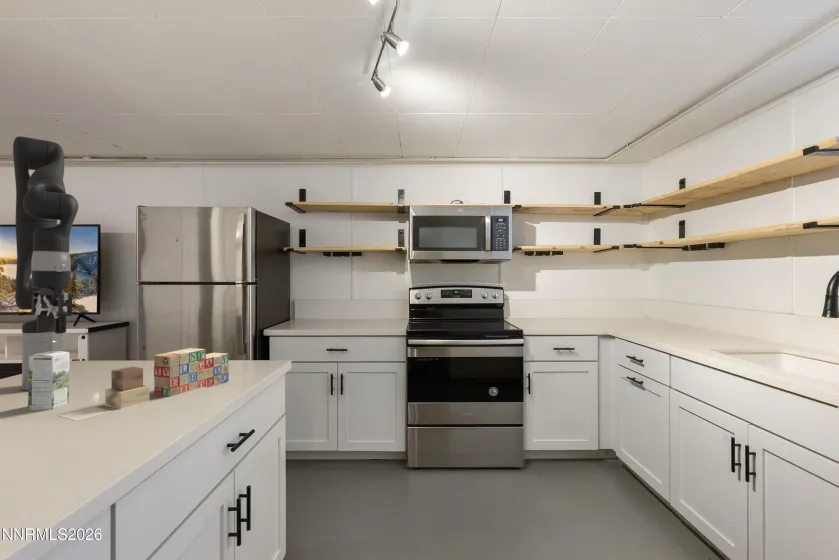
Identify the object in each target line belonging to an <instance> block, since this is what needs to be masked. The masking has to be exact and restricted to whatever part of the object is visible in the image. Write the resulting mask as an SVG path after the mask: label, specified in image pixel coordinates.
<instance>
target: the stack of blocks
mask: <svg viewBox="0 0 839 560" xmlns="http://www.w3.org/2000/svg"><path fill="white" fill-rule="evenodd" d="M206 350H207V349H206V348H197V347H195V348H194V347H189V348H188V347H187V348H185V349H184V348H183V349H179V350H178V349H177V350H174V351H168V352H163V353H159V354H154V356H153V357H154V358H153V359H154V361H153V363H154V366H153V379H154V382H153V383H154V384H153V385H154V388H153V389H154V390H153V391H154V392H153V393H154V395H155V396H156V395H157V396H161V397H173V396H176V395H181V394H184V393H187V392H190V391H194V390H197V389H201V388H210V387H209V386H211V387H213V386H212V385H215V386H217V385H216V384H218V385H221V384H223V382H224V383H227V382H226V381H228V382H229V379H230V377H229V374H230V373H229V370H230V368H229V367H230V366H229V365H230V363H229V353H225V352H223V353H222V352H221V353H220V352H210V353H206V352H207V351H206ZM220 383H221V384H220Z"/></svg>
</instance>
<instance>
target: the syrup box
mask: <svg viewBox="0 0 839 560" xmlns="http://www.w3.org/2000/svg"><path fill="white" fill-rule="evenodd" d="M70 356H71V355H70V352H69V351H64V350H63V351H50V352H45V353H40V354H36V355H31V356H29V384H28V390H27V391H28V393H27V394H28V397H27V398H28V399H27V411H48V410H49V411H50V410H54V409H57V408H60V407H62V406H65V405H68V404H69V401H70V400H69V399H70V397H69V395H70V393H69V392H70V359H71V358H70Z"/></svg>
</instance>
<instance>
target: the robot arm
mask: <svg viewBox="0 0 839 560" xmlns="http://www.w3.org/2000/svg"><path fill="white" fill-rule="evenodd" d="M12 157H13V167H14V179H15V180H14V181H15V194H16V196H15V238H16V239H15V240H16V271H15V272H16V274H15V275H16V276H15V289H14V293H15V294H14V295H15V296H14V297H15V298H14V299H15V304H16V307H17V309H19V310H21V311H22V310H23V311H24V310H27V311H28V310H29V311H30V310H31V311H30V312H31V314H32V315H34V317H36V319H32V320H29V321H25V322H24V323H22V325H21V359H22V361H21V389H22V391H28V384H29V356H31V355H36V354H40V353H45V352H50V351H64V350H63V349H64V347H63V346H64V345H63V343H64V341H63V335H64V334H65V333H66V332H67V319H68V318H69V317H71V316H73V298H72V297H73V295H72V292H64V291H65V290H64V289H66V288H67V289H68V288H70V287H71V273H72V272H71V271H72V270H71V268H72V267H71V256H70V237H71V236H70V235H71V231H72V227H73V224H74V222H75V219H76V216H77V214H78V211H79V203H78V200H77V198H75V195H74V196H73V195H72V194H70V193H66V186H65V183H64V176H65V153H64V149H63V147H62V146H61V144H60V143H57V142H54V141H52V140H45V139H38V138H34V137H28V136H16V137H15V138H14V140H13V144H12ZM30 170H31V171H33V172H32V173H31V175H30ZM58 220H59V223H58Z"/></svg>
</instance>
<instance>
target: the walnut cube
mask: <svg viewBox="0 0 839 560" xmlns="http://www.w3.org/2000/svg"><path fill="white" fill-rule="evenodd" d="M143 385H144V367H138V366H127V367H122V368H116V369H112V370H111V389H113V390H118V391H127V390H131V389H136V388H140V387H143Z"/></svg>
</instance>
